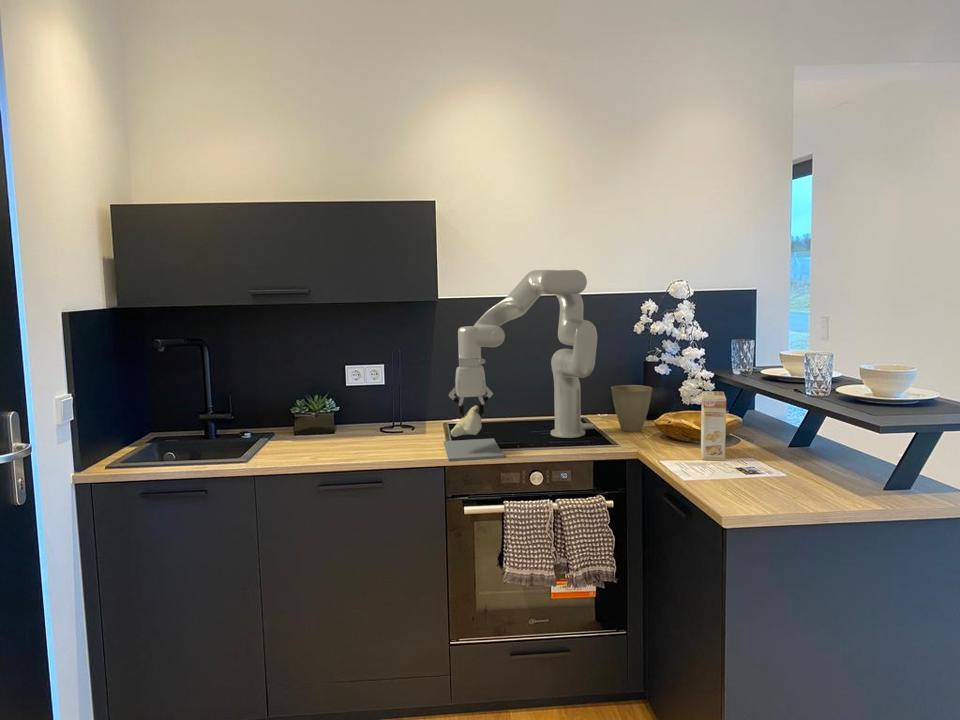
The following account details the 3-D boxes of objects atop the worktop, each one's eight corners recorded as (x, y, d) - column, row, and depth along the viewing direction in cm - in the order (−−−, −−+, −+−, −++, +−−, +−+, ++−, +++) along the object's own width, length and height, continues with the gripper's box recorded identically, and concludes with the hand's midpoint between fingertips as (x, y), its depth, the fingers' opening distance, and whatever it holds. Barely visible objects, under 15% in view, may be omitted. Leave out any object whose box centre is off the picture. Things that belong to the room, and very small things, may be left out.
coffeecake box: (726, 461, 214) (727, 399, 211) (701, 460, 216) (702, 398, 213) (723, 449, 228) (724, 390, 226) (700, 448, 230) (701, 390, 228)
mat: (493, 440, 249) (493, 438, 249) (504, 457, 225) (504, 455, 225) (443, 443, 247) (443, 441, 246) (448, 461, 223) (448, 458, 223)
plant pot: (657, 433, 253) (657, 390, 251) (617, 435, 252) (617, 391, 250) (645, 424, 268) (645, 383, 266) (607, 426, 267) (606, 385, 265)
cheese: (469, 447, 224) (499, 413, 229) (453, 431, 223) (483, 398, 228) (458, 450, 238) (486, 419, 243) (442, 435, 238) (471, 404, 243)
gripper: (493, 360, 237) (494, 412, 239) (443, 362, 235) (445, 415, 237) (496, 363, 229) (498, 417, 232) (445, 365, 227) (446, 419, 230)
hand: (471, 415), depth 234 cm, fingers closed on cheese, 5 cm apart
